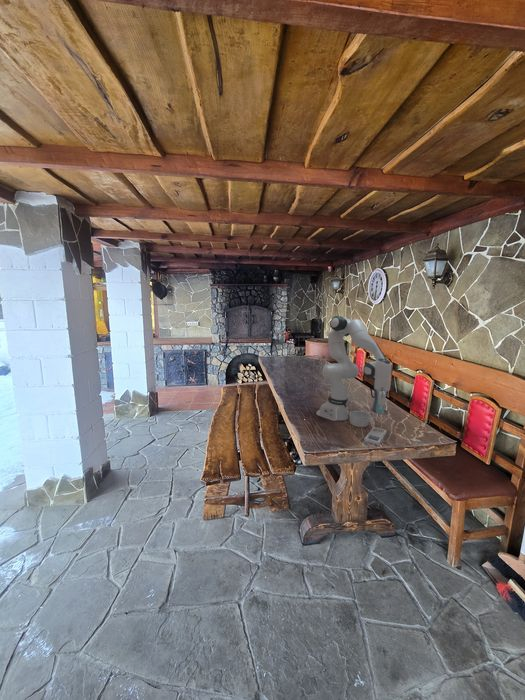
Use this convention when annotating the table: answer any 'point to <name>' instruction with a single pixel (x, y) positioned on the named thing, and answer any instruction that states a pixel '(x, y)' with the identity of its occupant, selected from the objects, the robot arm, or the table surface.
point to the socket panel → (375, 435)
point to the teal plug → (379, 409)
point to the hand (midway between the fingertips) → (380, 407)
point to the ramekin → (359, 418)
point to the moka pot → (375, 397)
